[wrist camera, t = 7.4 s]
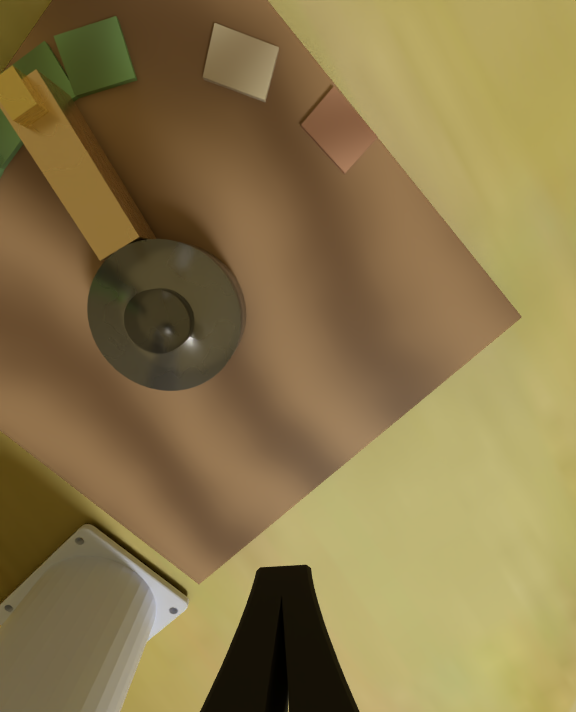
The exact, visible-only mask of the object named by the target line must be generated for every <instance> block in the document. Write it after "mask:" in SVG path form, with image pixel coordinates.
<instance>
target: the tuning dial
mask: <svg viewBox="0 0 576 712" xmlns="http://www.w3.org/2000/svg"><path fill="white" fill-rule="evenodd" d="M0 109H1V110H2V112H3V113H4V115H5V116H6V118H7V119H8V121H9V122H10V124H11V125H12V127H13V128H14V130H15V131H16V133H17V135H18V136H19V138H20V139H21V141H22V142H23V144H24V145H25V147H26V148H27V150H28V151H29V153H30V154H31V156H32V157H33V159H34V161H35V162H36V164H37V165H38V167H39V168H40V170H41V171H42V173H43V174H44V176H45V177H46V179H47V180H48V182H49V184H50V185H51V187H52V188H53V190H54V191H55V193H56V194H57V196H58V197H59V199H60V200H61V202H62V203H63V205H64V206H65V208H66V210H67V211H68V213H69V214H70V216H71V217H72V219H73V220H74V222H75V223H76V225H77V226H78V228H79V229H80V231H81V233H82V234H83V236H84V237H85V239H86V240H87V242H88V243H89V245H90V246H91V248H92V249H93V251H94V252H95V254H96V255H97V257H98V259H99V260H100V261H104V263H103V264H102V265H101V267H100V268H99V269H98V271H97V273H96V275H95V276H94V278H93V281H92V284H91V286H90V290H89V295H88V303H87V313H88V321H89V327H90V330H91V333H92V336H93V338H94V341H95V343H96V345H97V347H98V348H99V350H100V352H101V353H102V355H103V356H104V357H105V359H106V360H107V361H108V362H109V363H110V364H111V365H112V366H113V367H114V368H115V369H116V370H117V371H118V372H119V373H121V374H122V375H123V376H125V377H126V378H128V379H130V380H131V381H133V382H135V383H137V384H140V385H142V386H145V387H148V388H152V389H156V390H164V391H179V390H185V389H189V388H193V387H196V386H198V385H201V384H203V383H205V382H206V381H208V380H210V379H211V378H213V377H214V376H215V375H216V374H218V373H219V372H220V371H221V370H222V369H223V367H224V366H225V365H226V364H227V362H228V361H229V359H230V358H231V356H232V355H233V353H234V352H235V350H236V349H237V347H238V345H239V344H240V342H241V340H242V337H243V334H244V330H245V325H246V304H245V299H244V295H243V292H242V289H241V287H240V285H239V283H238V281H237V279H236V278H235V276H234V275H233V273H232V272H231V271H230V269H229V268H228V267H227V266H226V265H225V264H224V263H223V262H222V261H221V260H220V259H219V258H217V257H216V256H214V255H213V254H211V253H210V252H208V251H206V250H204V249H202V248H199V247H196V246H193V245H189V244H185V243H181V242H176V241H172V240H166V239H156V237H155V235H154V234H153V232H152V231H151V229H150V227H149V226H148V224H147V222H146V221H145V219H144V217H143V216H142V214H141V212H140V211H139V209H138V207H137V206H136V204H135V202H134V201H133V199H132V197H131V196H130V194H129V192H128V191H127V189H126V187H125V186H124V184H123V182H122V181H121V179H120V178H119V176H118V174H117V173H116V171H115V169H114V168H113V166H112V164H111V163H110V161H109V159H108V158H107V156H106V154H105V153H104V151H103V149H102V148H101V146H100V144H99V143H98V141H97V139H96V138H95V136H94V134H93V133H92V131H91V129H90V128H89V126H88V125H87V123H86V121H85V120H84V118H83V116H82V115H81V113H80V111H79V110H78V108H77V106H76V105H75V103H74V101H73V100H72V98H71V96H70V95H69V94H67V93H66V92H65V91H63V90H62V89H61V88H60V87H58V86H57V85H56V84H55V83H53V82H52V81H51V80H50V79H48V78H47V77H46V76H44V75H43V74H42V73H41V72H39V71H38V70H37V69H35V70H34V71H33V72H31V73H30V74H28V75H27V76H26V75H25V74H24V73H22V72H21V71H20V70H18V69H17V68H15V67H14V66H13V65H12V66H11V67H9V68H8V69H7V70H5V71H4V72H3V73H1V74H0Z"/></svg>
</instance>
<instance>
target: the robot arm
mask: <svg viewBox="0 0 576 712" xmlns="http://www.w3.org/2000/svg"><path fill="white" fill-rule="evenodd" d="M81 538H83V539H81ZM188 603H189V600H188V598H187V597H186V596H185V595H184V594H183V593H181V592H180V591H179V590H177V589H176V588H175V587H173V586H172V585H171V584H170V583H168V582H167V581H166V580H164V579H163V578H162V577H160V576H159V575H158V574H156V573H155V572H154V571H152V570H151V569H150V568H148V567H147V566H146V565H144V564H143V563H142V562H141V561H139V560H138V559H137V558H135V557H134V556H133V555H131V554H130V553H129V552H127V551H126V550H125V549H123V548H122V547H121V546H119V545H118V544H117V543H115V542H114V541H113V540H111V539H110V538H109V537H108V536H106V535H105V534H104V533H102V532H101V531H100V530H98V529H97V528H96V527H94V526H93V525H90V524H84V525H83V526H81V527H80V528H79V529H78V530H77V531H76V532H75V533H74V534H73V535H72V536H71V537H70V538H69V539H68V540H67V541H66V542H64V543H63V544H62V545H61V546H60V547H59V548H58V549H57V550H56V551H55V552H54V553H53V554H52V555H51V556H50V557H49V558H48V559H47V560H46V561H45V562H44V563H43V564H42V565H41V566H39V567H38V568H37V569H36V570H35V571H34V572H33V573H32V574H31V575H30V576H29V577H28V578H27V579H26V580H25V581H24V582H23V583H22V584H21V585H20V586H19V587H18V588H17V589H16V590H15V591H13V592H12V593H11V594H10V595H9V596H8V597H7V598H6V599H5V600H4V601H3V602H2V603H1V604H0V625H2V626H1V627H0V712H120V711H121V708H122V706H123V703H124V700H125V698H126V695H127V692H128V690H129V687H130V685H131V682H132V679H133V677H134V674H135V671H136V669H137V666H138V664H139V661H140V658H141V656H142V653H143V651H144V648H145V645H146V643H147V641H148V640H149V639H151V638H152V637H153V636H154V635H156V634H157V633H158V632H159V631H160V630H162V629H163V628H164V627H165V626H167V625H168V624H169V623H170V622H171V621H173V620H174V619H175V618H176V617H178V616H179V615H180V614H181V613H182V612H184V611H185V610H186V609H187V607H188ZM174 607H175V608H174ZM288 700H289V712H359V710H358V707H357V705H356V703H355V700H354V698H353V696H352V693H351V691H350V689H349V686H348V684H347V682H346V679H345V677H344V674H343V672H342V669H341V667H340V664H339V662H338V659H337V656H336V654H335V651H334V648H333V646H332V643H331V640H330V638H329V635H328V632H327V629H326V626H325V623H324V620H323V617H322V614H321V611H320V607H319V604H318V600H317V597H316V593H315V589H314V584H313V579H312V573H311V568H310V567H309V566H307V565H295V566H277V567H260V568H259V569H258V570H257V571H256V575H255V579H254V583H253V586H252V589H251V592H250V595H249V598H248V601H247V604H246V607H245V610H244V612H243V615H242V618H241V620H240V623H239V625H238V628H237V630H236V633H235V635H234V638H233V640H232V642H231V645H230V647H229V650H228V652H227V654H226V657H225V659H224V661H223V664H222V666H221V668H220V670H219V673H218V675H217V677H216V679H215V681H214V683H213V685H212V687H211V690H210V692H209V694H208V696H207V698H206V700H205V702H204V705H203V707H202V709H201V711H200V712H288Z"/></svg>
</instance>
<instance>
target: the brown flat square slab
mask: <svg viewBox="0 0 576 712" xmlns="http://www.w3.org/2000/svg"><path fill="white" fill-rule="evenodd" d="M12 65H13V66H14V67H15V68H17V69H18V70H20V71H21V72H22V73H24V74H25V75H26V76H27V75H28V74H30V73H31V72H33V71H34V70H35V69H37V70H38V71H39V72H41V73H42V74H43V75H44V76H46V77H47V78H48V79H50V80H51V81H52V82H53V83H55V84H56V85H57V86H58V87H60V88H61V89H62V90H63V91H65V92H66V93H67V94H69V95H70V96H71V98H72V100H73V101H74V103H75V105H76V106H77V108H78V110H79V111H80V113H81V115H82V116H83V118H84V120H85V121H86V123H87V125H88V126H89V128H90V129H91V131H92V133H93V134H94V136H95V138H96V139H97V141H98V143H99V144H100V146H101V148H102V149H103V151H104V153H105V154H106V156H107V158H108V159H109V161H110V163H111V164H112V166H113V168H114V169H115V171H116V173H117V174H118V176H119V178H120V179H121V181H122V182H123V184H124V186H125V187H126V189H127V191H128V192H129V194H130V196H131V197H132V199H133V201H134V202H135V204H136V206H137V207H138V209H139V211H140V212H141V214H142V216H143V217H144V219H145V221H146V222H147V224H148V226H149V227H150V229H151V231H152V232H153V234H154V235H155V237H156V239H166V240H172V241H176V242H181V243H185V244H189V245H193V246H196V247H199V248H202V249H204V250H206V251H208V252H210V253H211V254H213V255H214V256H216V257H217V258H219V259H220V260H221V261H222V262H223V263H224V264H225V265H226V266H227V267H228V268H229V269H230V271H231V272H232V273H233V275H234V276H235V278H236V279H237V281H238V283H239V285H240V287H241V289H242V292H243V295H244V299H245V304H246V325H245V330H244V334H243V337H242V340H241V342H240V344H239V345H238V347H237V349H236V350H235V352H234V353H233V355H232V356H231V358H230V359H229V361H228V362H227V364H226V365H225V366H224V367H223V369H222V370H221V371H220V372H219V373H218V374H216V375H215V376H214V377H213V378H211V379H210V380H208V381H206V382H205V383H203V384H201V385H198V386H196V387H193V388H189V389H185V390H179V391H164V390H156V389H152V388H148V387H145V386H142V385H140V384H137V383H135V382H133V381H131V380H130V379H128V378H126V377H125V376H123V375H122V374H121V373H119V372H118V371H117V370H116V369H115V368H114V367H113V366H112V365H111V364H110V363H109V362H108V361H107V360H106V359H105V357H104V356H103V355H102V353H101V352H100V350H99V348H98V347H97V345H96V343H95V341H94V338H93V336H92V333H91V330H90V327H89V321H88V313H87V303H88V295H89V290H90V286H91V284H92V281H93V278H94V276H95V275H96V273H97V271H98V269H99V268H100V267H101V265H102V264H103V263H104V261H100V260H99V259H98V257H97V255H96V254H95V252H94V251H93V249H92V248H91V246H90V245H89V243H88V242H87V240H86V239H85V237H84V236H83V234H82V233H81V231H80V229H79V228H78V226H77V225H76V223H75V222H74V220H73V219H72V217H71V216H70V214H69V213H68V211H67V210H66V208H65V206H64V205H63V203H62V202H61V200H60V199H59V197H58V196H57V194H56V193H55V191H54V190H53V188H52V187H51V185H50V184H49V182H48V180H47V179H46V177H45V176H44V174H43V173H42V171H41V170H40V168H39V167H38V165H37V164H36V162H35V161H34V159H33V157H32V156H31V154H30V153H29V151H28V150H27V148H26V147H25V145H24V144H23V142H22V141H21V139H20V138H19V136H18V135H17V133H16V131H15V130H14V128H13V127H12V125H11V124H10V122H9V121H8V119H7V118H6V116H5V115H4V113H3V112H2V110H1V109H0V431H1V432H3V433H4V434H5V435H6V436H8V437H9V438H10V439H12V440H13V441H14V442H15V443H17V444H18V445H19V446H21V447H22V448H23V449H25V450H26V451H27V452H28V453H30V454H31V455H32V456H34V457H35V458H36V459H37V460H39V461H40V462H41V463H43V464H44V465H45V466H47V467H48V468H49V469H50V470H52V471H53V472H54V473H56V474H57V475H58V476H59V477H61V478H62V479H63V480H65V481H66V482H67V483H69V484H70V485H71V486H72V487H74V488H75V489H76V490H78V491H79V492H80V493H81V494H83V495H84V496H85V497H87V498H88V499H89V500H91V501H92V502H93V503H94V504H96V505H97V506H98V507H100V508H101V509H102V510H103V511H105V512H106V513H107V514H109V515H110V516H111V517H112V518H114V519H115V520H116V521H118V522H119V523H120V524H122V525H123V526H124V527H125V528H127V529H128V530H129V531H131V532H132V533H133V534H134V535H136V536H137V537H138V538H140V539H141V540H142V541H144V542H145V543H146V544H147V545H149V546H150V547H151V548H153V549H154V550H155V551H156V552H158V553H159V554H160V555H162V556H163V557H164V558H166V559H167V560H168V561H169V562H171V563H172V564H173V565H175V566H176V567H177V568H178V569H180V570H181V571H182V572H184V573H185V574H186V575H188V576H189V577H190V578H191V579H193V580H194V581H195V582H197V583H198V584H200V583H201V582H202V581H204V580H205V579H206V578H207V577H208V576H210V575H211V574H212V573H213V572H214V571H216V570H217V569H218V568H219V567H220V566H222V565H223V564H224V563H225V562H227V561H228V560H229V559H230V558H231V557H233V556H234V555H235V554H236V553H237V552H239V551H240V550H241V549H242V548H243V547H245V546H246V545H247V544H248V543H250V542H251V541H252V540H253V539H254V538H256V537H257V536H258V535H259V534H260V533H262V532H263V531H264V530H265V529H266V528H268V527H269V526H270V525H271V524H272V523H274V522H275V521H276V520H277V519H279V518H280V517H281V516H282V515H283V514H285V513H286V512H287V511H288V510H289V509H291V508H292V507H293V506H294V505H295V504H297V503H298V502H299V501H300V500H301V499H303V498H304V497H305V496H306V495H308V494H309V493H310V492H311V491H312V490H314V489H315V488H316V487H317V486H318V485H320V484H321V483H322V482H323V481H324V480H326V479H327V478H328V477H329V476H330V475H332V474H333V473H334V472H335V471H337V470H338V469H339V468H340V467H341V466H343V465H344V464H345V463H346V462H347V461H349V460H350V459H351V458H352V457H353V456H355V455H356V454H357V453H358V452H359V451H361V450H362V449H363V448H364V447H366V446H367V445H368V444H369V443H370V442H372V441H373V440H374V439H375V438H376V437H378V436H379V435H380V434H381V433H382V432H384V431H385V430H386V429H387V428H389V427H390V426H391V425H392V424H393V423H395V422H396V421H397V420H398V419H399V418H401V417H402V416H403V415H404V414H405V413H407V412H408V411H409V410H410V409H411V408H413V407H414V406H415V405H416V404H418V403H419V402H420V401H421V400H422V399H424V398H425V397H426V396H427V395H428V394H430V393H431V392H432V391H433V390H434V389H436V388H437V387H438V386H439V385H440V384H442V383H443V382H444V381H445V380H447V379H448V378H449V377H450V376H451V375H453V374H454V373H455V372H456V371H457V370H459V369H460V368H461V367H462V366H463V365H465V364H466V363H467V362H468V361H469V360H471V359H472V358H473V357H474V356H476V355H477V354H478V353H479V352H480V351H482V350H483V349H484V348H485V347H486V346H488V345H489V344H490V343H491V342H492V341H494V340H495V339H496V338H497V337H499V336H500V335H501V334H502V333H503V332H505V331H506V330H507V329H508V328H509V327H511V326H512V325H513V324H514V323H515V322H517V321H518V320H519V319H520V318H521V315H520V314H519V313H518V312H517V310H516V309H515V308H514V307H513V305H512V304H511V303H510V302H509V300H508V299H507V298H506V297H505V295H504V294H503V293H502V292H501V290H500V289H499V288H498V287H497V285H496V284H495V283H494V282H493V280H492V279H491V278H490V277H489V276H488V274H487V273H486V272H485V271H484V269H483V268H482V267H481V266H480V264H479V263H478V262H477V261H476V259H475V258H474V257H473V256H472V254H471V253H470V252H469V251H468V249H467V248H466V247H465V246H464V244H463V243H462V242H461V241H460V239H459V238H458V237H457V236H456V234H455V233H454V232H453V231H452V229H451V228H450V227H449V226H448V224H447V223H446V222H445V221H444V219H443V218H442V217H441V216H440V215H439V213H438V212H437V211H436V210H435V208H434V207H433V206H432V205H431V203H430V202H429V201H428V200H427V198H426V197H425V196H424V195H423V193H422V192H421V191H420V190H419V188H418V187H417V186H416V185H415V183H414V182H413V181H412V180H411V178H410V177H409V176H408V175H407V173H406V172H405V171H404V170H403V168H402V167H401V166H400V165H399V163H398V162H397V161H396V160H395V158H394V157H393V156H392V155H391V153H390V152H389V151H388V150H387V149H386V147H385V146H384V145H383V144H382V142H381V141H380V140H379V139H378V137H377V136H376V134H375V133H374V132H373V131H372V130H371V129H370V127H369V126H368V125H367V124H366V122H365V121H364V120H363V119H362V117H361V116H360V115H359V114H358V112H357V111H356V110H355V109H354V107H353V106H352V105H351V104H350V102H349V101H348V100H347V99H346V97H345V96H344V95H343V94H342V92H341V91H340V90H339V89H338V88H337V86H336V85H335V84H334V83H333V81H332V80H331V79H330V78H329V76H328V75H327V74H326V73H325V71H324V70H323V69H322V68H321V66H320V65H319V64H318V63H317V61H316V60H315V59H314V58H313V56H312V55H311V54H310V53H309V51H308V50H307V49H306V48H305V46H304V45H303V44H302V43H301V41H300V40H299V39H298V38H297V36H296V35H295V34H294V33H293V31H292V30H291V29H290V28H289V26H288V25H287V24H286V23H285V22H284V20H283V19H282V18H281V17H280V15H279V14H278V13H277V12H276V10H275V9H274V8H273V7H272V5H271V4H270V3H269V2H268V0H52V1H51V3H50V4H49V6H48V7H47V9H46V10H45V12H44V13H43V14H42V16H41V17H40V19H39V20H38V22H37V23H36V25H35V26H34V27H33V29H32V30H31V32H30V33H29V35H28V36H27V38H26V39H25V40H24V42H23V43H22V45H21V46H20V48H19V49H18V51H17V52H16V54H15V55H14V56H13V58H12V59H11V61H10V62H9V64H8V65H7V67H6V68H5V69H4V71H5V70H7V69H8V68H9V67H11V66H12ZM4 71H3V72H4ZM3 72H2V73H3Z"/></svg>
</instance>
